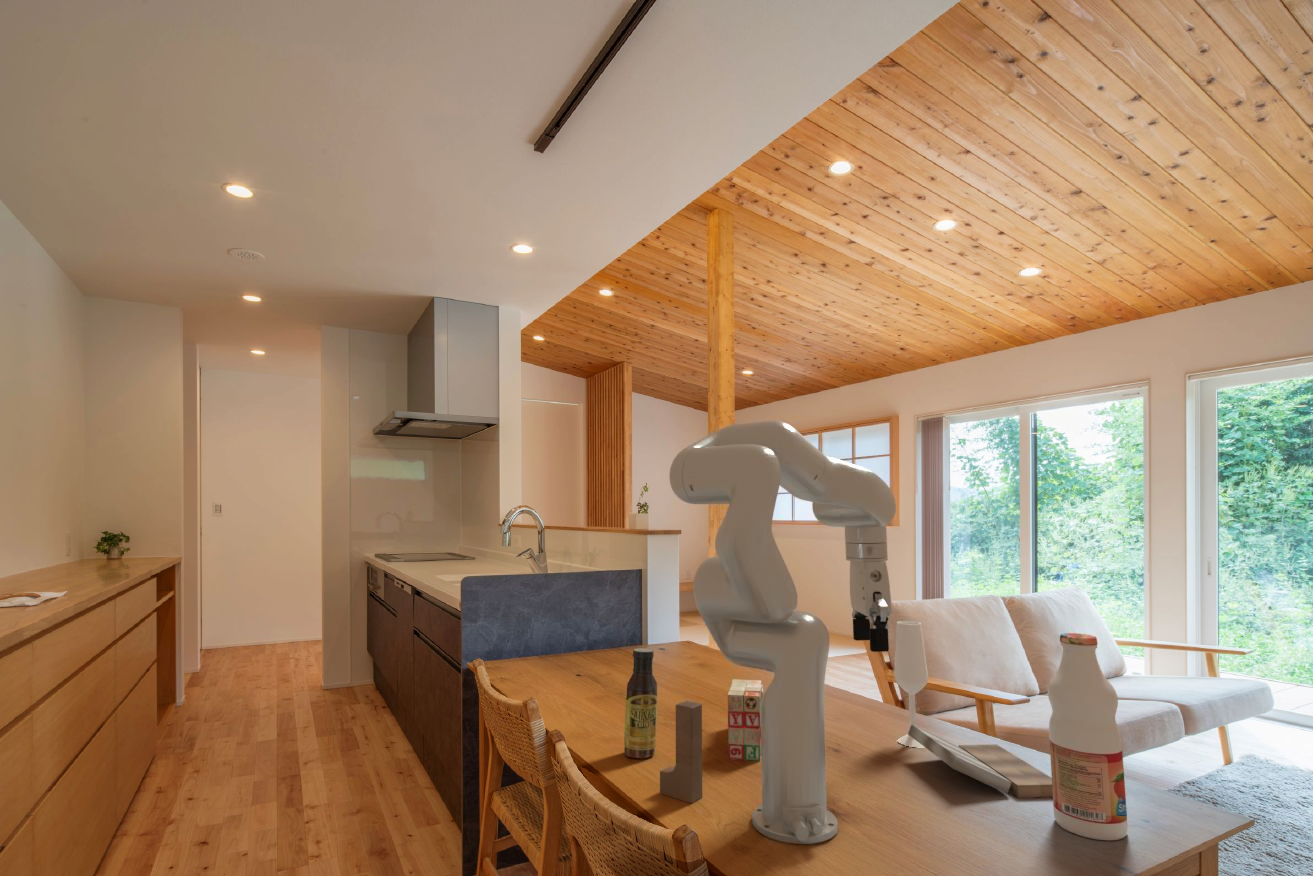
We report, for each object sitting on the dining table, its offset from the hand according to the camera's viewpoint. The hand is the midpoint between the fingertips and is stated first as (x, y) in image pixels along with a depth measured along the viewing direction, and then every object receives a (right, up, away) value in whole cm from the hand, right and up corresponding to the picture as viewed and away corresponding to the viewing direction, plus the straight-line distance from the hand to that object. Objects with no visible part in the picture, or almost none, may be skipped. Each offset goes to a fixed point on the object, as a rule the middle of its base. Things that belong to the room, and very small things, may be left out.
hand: (870, 645), depth 128 cm
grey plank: (+14, -20, -4) cm, 24 cm away
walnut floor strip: (+23, -22, -4) cm, 32 cm away
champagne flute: (+13, -24, +13) cm, 30 cm away
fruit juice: (+25, -20, -25) cm, 41 cm away
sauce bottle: (-43, -23, +6) cm, 49 cm away
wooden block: (-36, -21, -13) cm, 44 cm away
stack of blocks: (-21, -24, +14) cm, 35 cm away
